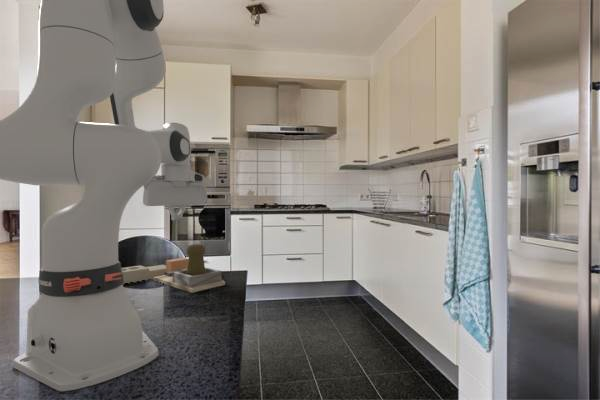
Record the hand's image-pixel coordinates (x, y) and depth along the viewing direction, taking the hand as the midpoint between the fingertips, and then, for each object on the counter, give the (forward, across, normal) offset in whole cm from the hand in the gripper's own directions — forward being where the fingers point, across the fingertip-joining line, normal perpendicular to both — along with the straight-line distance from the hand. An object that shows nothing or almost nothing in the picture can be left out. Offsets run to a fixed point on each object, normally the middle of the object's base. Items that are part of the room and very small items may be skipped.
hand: (177, 219), depth 107 cm
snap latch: (+16, 0, 0) cm, 16 cm away
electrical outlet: (+20, -7, +11) cm, 23 cm away
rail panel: (+19, 0, -6) cm, 20 cm away
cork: (+18, 0, -11) cm, 21 cm away
